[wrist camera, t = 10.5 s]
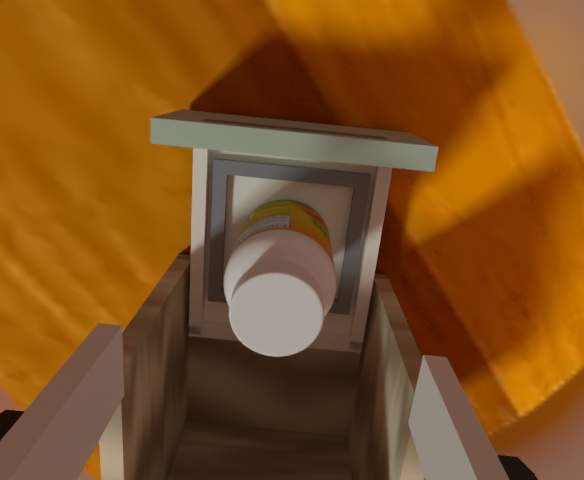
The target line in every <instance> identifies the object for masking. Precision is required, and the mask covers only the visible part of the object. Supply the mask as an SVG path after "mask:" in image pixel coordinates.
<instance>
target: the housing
mask: <svg viewBox="0 0 584 480" xmlns="http://www.w3.org/2000/svg"><path fill="white" fill-rule="evenodd" d="M190 261H191V255H183V254H178V256H177V257H176V259H175V260H174V261H173V263H172V264H171V266H170V267H169V268H168V270H167V271H166V273H165V274H164V275H163V277H162V278H161V280H160V281H159V283H158V284H157V285H156V287H155V288H154V290H153V291H152V292H151V294H150V295H149V297H148V298H147V299H146V301H145V302H144V304H143V305H142V306H141V308H140V309H139V311H138V312H137V313H136V315H135V316H134V318H133V319H132V320H131V322H130V323H129V325H128V326H127V327H126V329H125V330H124V332H123V333H122V337H123V369H124V397H123V399H122V400H121V402H120V404H119V406H118V408H117V409H116V411H115V413H114V415H113V416H112V418H111V420H110V422H109V423H108V425H107V427H106V429H105V431H104V432H103V434H102V436H101V438H100V439H99V446H100V464H101V480H423V479H424V473H423V470H422V466H421V463H420V460H419V457H418V453H417V450H416V447H415V443H414V440H413V437H412V434H411V430H410V427H409V424H408V421H409V417H410V412H411V408H412V403H413V399H414V394H415V390H416V385H417V381H418V376H419V372H420V367H421V363H422V359H423V358H422V356H421V354H420V351H419V349H418V346H417V344H416V342H415V339H414V337H413V335H412V332H411V330H410V328H409V325H408V323H407V321H406V318H405V316H404V314H403V311H402V309H401V306H400V304H399V302H398V299H397V297H396V295H395V292H394V290H393V288H392V285H391V283H390V281H389V278H388V276H387V275H386V274H376V273H375V275H374V281H373V286H372V292H371V298H370V304H369V310H368V316H367V322H366V327H365V333H364V339H363V345H362V351H361V353H357V352H347V351H337V350H327V349H316V348H305V349H304V350H302V351H300V352H298V353H295V354H292V355H288V356H280V357H273V356H266V355H263V354H260V353H257V352H255V351H253V350H251V349H249V348H248V347H246V346H245V345H244V344H243V343H242V342H241V341H234V340H223V339H213V338H203V337H192V336H189V302H190Z"/></svg>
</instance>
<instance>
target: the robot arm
mask: <svg viewBox="0 0 584 480" xmlns="http://www.w3.org/2000/svg"><path fill="white" fill-rule="evenodd" d="M123 397H124V369H123V337H122V326H121V325H111V324H101V323H98V325H97V326H96V327H95V328H94V329H93V331H92V332H91V333H90V334H89V335H88V337H87V338H86V339H85V340H84V341H83V343H82V344H81V345H80V346H79V347H78V349H77V350H76V351H75V352H74V353H73V355H72V356H71V357H70V358H69V359H68V361H67V362H66V363H65V364H64V365H63V367H62V368H61V369H60V370H59V371H58V372H57V374H56V375H55V376H54V377H53V378H52V380H51V381H50V382H49V383H48V384H47V386H46V387H45V388H44V389H43V390H42V392H41V393H40V394H39V395H38V396H37V398H36V399H35V400H34V401H33V402H32V404H31V405H30V406H29V407H28V408H27V410H26V411H14V410H5V411H3V412H2V413H0V480H77V478H78V476H79V475H80V473H81V471H82V469H83V468H84V466H85V464H86V462H87V461H88V459H89V457H90V455H91V454H92V452H93V450H94V448H95V446H96V445H97V443H98V441H99V439H100V438H101V436H102V434H103V432H104V431H105V429H106V427H107V425H108V423H109V422H110V420H111V418H112V416H113V415H114V413H115V411H116V409H117V408H118V406H119V404H120V402H121V400H122V399H123ZM408 424H409V427H410V430H411V434H412V437H413V440H414V443H415V447H416V450H417V453H418V457H419V460H420V463H421V466H422V470H423V473H424V476H425V479H426V480H538V479H537V478H536V476H535V474H534V473H533V472H532V471H531V470H530V469H529V468H528V467H527V466H526V465H525V464H524V463H523V462H522V461H521V460H520V459H519V458H518V457H511V456H501V455H496V453H495V450H494V449H493V447H492V445H491V443H490V441H489V439H488V437H487V435H486V433H485V431H484V429H483V427H482V425H481V423H480V421H479V419H478V417H477V415H476V413H475V412H474V410H473V408H472V406H471V404H470V402H469V400H468V398H467V396H466V394H465V392H464V390H463V388H462V386H461V384H460V382H459V380H458V378H457V376H456V374H455V373H454V371H453V369H452V367H451V365H450V363H449V361H448V359H447V357H441V356H431V355H423V359H422V363H421V367H420V372H419V376H418V381H417V385H416V390H415V394H414V399H413V403H412V408H411V412H410V417H409V421H408Z"/></svg>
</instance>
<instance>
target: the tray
mask: <svg viewBox="0 0 584 480" xmlns="http://www.w3.org/2000/svg"><path fill="white" fill-rule="evenodd" d="M151 144H161V145H171V146H181V147H191V148H193V179H192V220H191V261H190V302H189V336H192V337H203V338H213V339H223V340H234V341H240V340H239V339H238V338H237V336H236V335H235V333H234V332H233V329H232V327H231V324H230V319H229V305H228V303H227V301H226V297H225V293H224V274H225V270H226V266H227V263H228V260H229V258H230V256H231V253H232V251H233V249H234V246H235V243H236V241H237V239H238V237H239V234H240V232H241V229H242V227H243V225H244V223H245V221H246V219H247V218H248V216H249V215H250V214H251V213H252V212H253V211H254V210H255V209H256V208H257V207H258V206H260V205H261V204H263V203H265V202H267V201H270V200H274V199H280V198H290V199H296V200H299V201H302V202H304V203H307V204H308V205H310V206H311V207H313V208H314V209H315V210H316V211H317V212H318V213H319V214H320V215H321V216H322V218H323V219H324V221H325V223H326V226H327V228H328V232H329V236H330V243H331V249H332V256H333V261H334V267H335V273H336V294H335V298H334V301H333V304H332V306H331V308H330V310H329V312H328V313H327V315H326V316H325V317H324V321H323V325H322V328H321V331H320V333H319V334H318V336H317V338H316V339H315V340H314V341H313V342H312V343H311V344H310V345H309V346H308V347H307V348H316V349H327V350H337V351H347V352H357V353H361V351H362V345H363V339H364V333H365V327H366V322H367V316H368V310H369V304H370V298H371V292H372V286H373V281H374V275H375V269H376V263H377V257H378V251H379V245H380V240H381V234H382V228H383V222H384V216H385V210H386V204H387V199H388V193H389V187H390V181H391V175H392V169H393V168H399V169H409V170H419V171H429V172H434V169H435V164H436V159H437V154H438V149H439V147H438V146H436V145H434V144H432V143H430V142H428V141H426V140H424V139H422V138H420V137H418V136H416V135H414V134H412V133H409V132H399V131H389V130H380V129H370V128H360V127H350V126H340V125H330V124H320V123H311V122H301V121H291V120H281V119H271V118H261V117H252V116H242V115H232V114H222V113H212V112H202V111H192V110H179V111H175V112H171V113H167V114H163V115H159V116H155V117H151Z"/></svg>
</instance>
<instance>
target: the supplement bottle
mask: <svg viewBox="0 0 584 480" xmlns="http://www.w3.org/2000/svg"><path fill="white" fill-rule="evenodd" d="M224 293H225V297H226V301H227V303H228V305H229V319H230V324H231V327H232V329H233V332H234V333H235V335H236V336H237V338H238V339H239V340H240V341H241V342H242V343H243V344H244V345H245V346H246V347H248V348H249V349H251V350H253V351H255V352H257V353H260V354H263V355H266V356H273V357H280V356H288V355H292V354H295V353H298V352H300V351H302V350H304V349H305V348H307V347H308V346H309V345H310V344H311V343H312V342H313V341H314V340H315V339H316V338H317V336H318V334H319V333H320V331H321V328H322V325H323V321H324V317H325V316H326V315H327V313H328V312H329V310H330V308H331V306H332V304H333V301H334V298H335V294H336V273H335V267H334V261H333V256H332V249H331V243H330V236H329V232H328V228H327V226H326V223H325V221H324V219H323V218H322V216H321V215H320V214H319V213H318V212H317V211H316V210H315V209H314V208H313V207H311V206H310V205H308V204H307V203H304V202H302V201H299V200H296V199H290V198H280V199H274V200H270V201H267V202H265V203H263V204H261V205H260V206H258V207H257V208H256V209H255V210H254V211H253V212H252V213H251V214H250V215H249V216H248V218H247V219H246V221H245V223H244V225H243V227H242V229H241V232H240V234H239V237H238V239H237V241H236V243H235V246H234V249H233V251H232V253H231V256H230V258H229V260H228V263H227V266H226V270H225V274H224Z"/></svg>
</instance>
